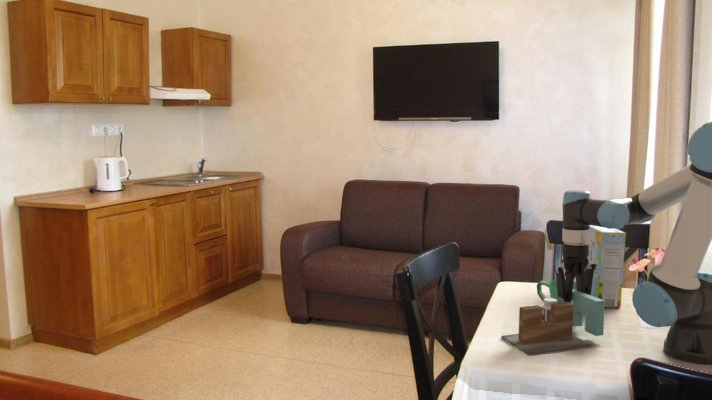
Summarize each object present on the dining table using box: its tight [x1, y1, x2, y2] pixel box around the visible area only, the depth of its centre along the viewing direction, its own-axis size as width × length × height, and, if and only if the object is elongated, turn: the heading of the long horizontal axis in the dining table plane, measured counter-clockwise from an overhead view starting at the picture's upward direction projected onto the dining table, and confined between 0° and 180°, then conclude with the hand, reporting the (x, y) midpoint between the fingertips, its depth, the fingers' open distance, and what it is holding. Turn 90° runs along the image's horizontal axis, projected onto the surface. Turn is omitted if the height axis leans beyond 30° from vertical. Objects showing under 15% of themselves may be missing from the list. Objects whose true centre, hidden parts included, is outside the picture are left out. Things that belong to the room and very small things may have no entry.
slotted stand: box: [500, 302, 592, 356], centre depth 180 cm, size 14×20×11 cm
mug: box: [536, 279, 577, 303], centre depth 208 cm, size 15×10×10 cm
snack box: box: [585, 225, 627, 308], centre depth 222 cm, size 22×9×26 cm, turn 179°
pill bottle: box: [541, 297, 557, 322], centre depth 194 cm, size 5×5×8 cm
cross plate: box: [571, 289, 605, 337], centre depth 186 cm, size 14×2×10 cm, turn 18°
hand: (573, 320), depth 191 cm, fingers closed on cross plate, 2 cm apart
